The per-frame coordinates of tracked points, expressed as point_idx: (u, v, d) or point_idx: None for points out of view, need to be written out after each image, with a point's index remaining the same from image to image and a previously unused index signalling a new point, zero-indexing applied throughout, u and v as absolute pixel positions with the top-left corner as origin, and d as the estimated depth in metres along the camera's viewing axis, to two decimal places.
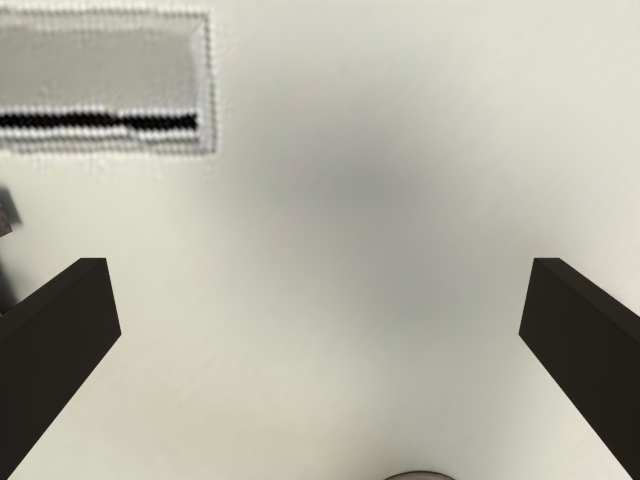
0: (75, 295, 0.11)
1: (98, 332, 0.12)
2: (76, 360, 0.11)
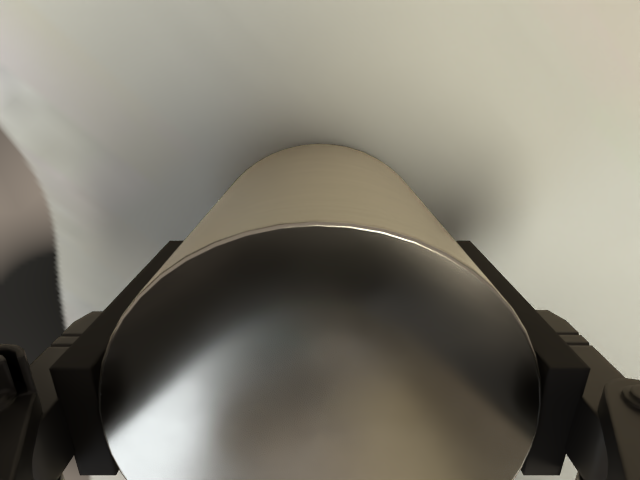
0: None
1: None
2: None
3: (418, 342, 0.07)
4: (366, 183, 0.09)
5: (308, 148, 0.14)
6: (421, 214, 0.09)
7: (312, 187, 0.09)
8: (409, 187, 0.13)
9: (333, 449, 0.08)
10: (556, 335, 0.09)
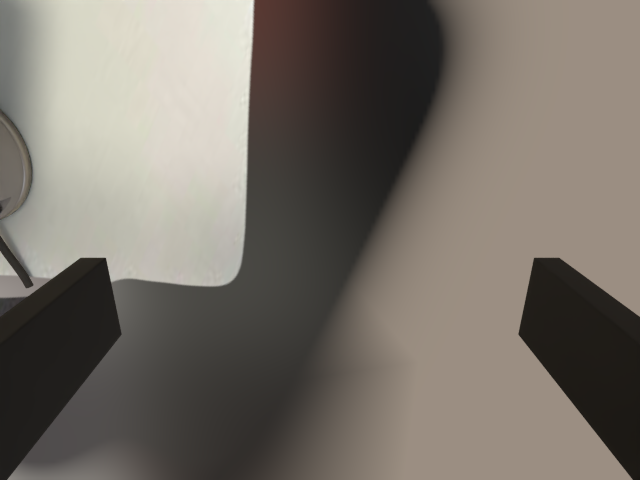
0: (75, 295, 0.11)
1: (98, 332, 0.12)
2: (76, 360, 0.11)
3: None
4: None
5: None
6: None
7: None
8: None
9: None
10: None
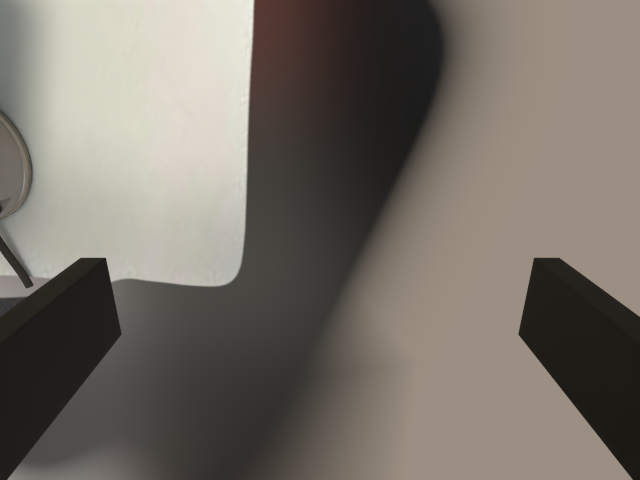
0: (75, 295, 0.11)
1: (98, 332, 0.12)
2: (76, 360, 0.11)
3: None
4: None
5: None
6: None
7: None
8: None
9: None
10: None
